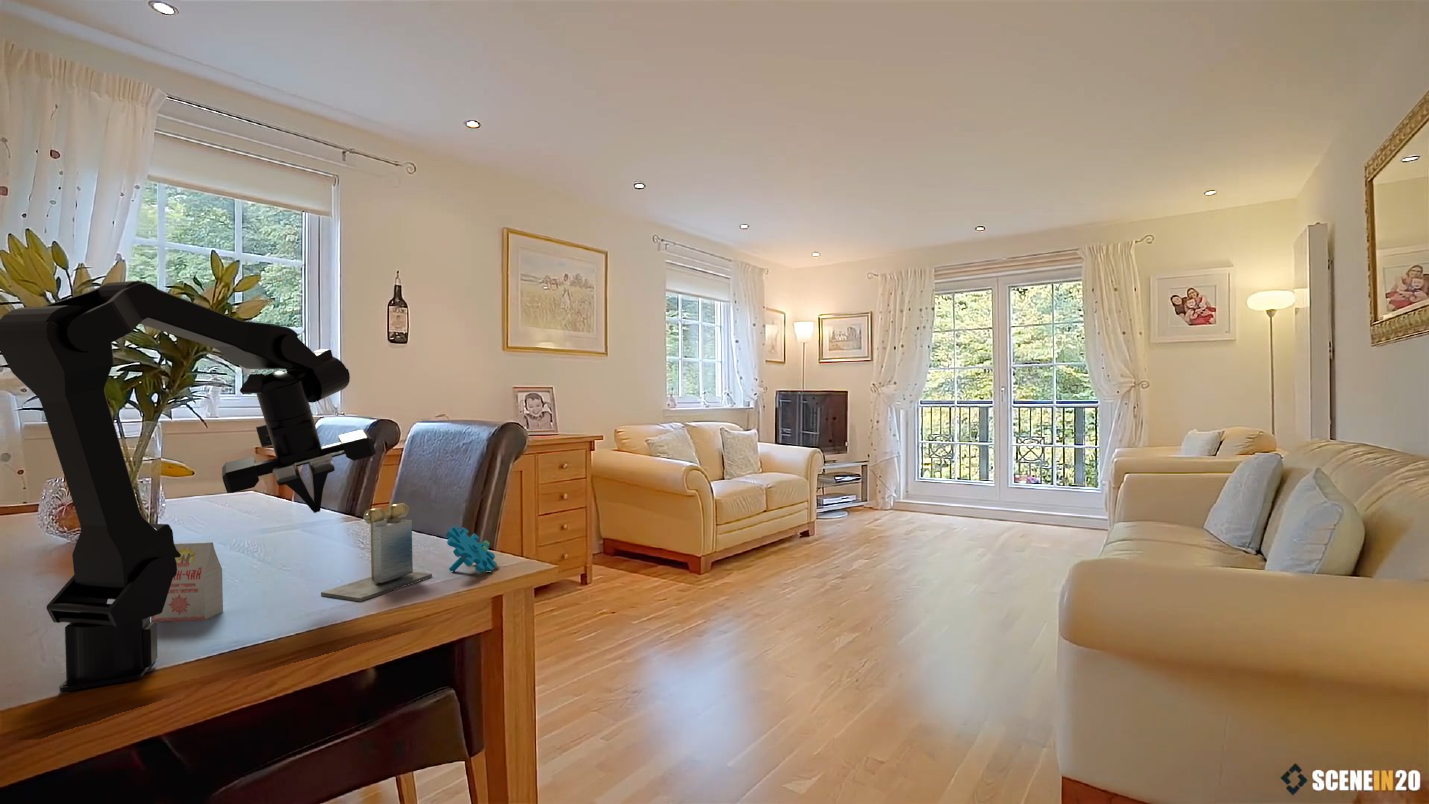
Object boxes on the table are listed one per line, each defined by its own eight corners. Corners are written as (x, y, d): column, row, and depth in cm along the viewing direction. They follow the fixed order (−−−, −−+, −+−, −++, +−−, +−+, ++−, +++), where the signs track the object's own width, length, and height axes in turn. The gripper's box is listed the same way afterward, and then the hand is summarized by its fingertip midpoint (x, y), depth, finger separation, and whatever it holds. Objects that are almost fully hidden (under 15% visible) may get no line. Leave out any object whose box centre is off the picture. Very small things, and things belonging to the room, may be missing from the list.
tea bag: (171, 612, 92) (169, 540, 92) (223, 610, 93) (221, 539, 93) (151, 621, 89) (149, 546, 88) (204, 620, 89) (203, 545, 89)
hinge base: (360, 601, 96) (358, 519, 96) (321, 595, 99) (319, 515, 99) (432, 576, 109) (430, 503, 108) (395, 572, 112) (394, 501, 111)
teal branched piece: (480, 571, 106) (441, 525, 108) (454, 597, 106) (415, 551, 108) (511, 562, 117) (475, 521, 118) (487, 586, 117) (451, 544, 119)
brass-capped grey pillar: (378, 584, 102) (377, 511, 102) (361, 581, 103) (360, 510, 103) (412, 572, 108) (411, 504, 108) (396, 570, 110) (395, 503, 109)
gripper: (351, 386, 106) (374, 475, 111) (208, 416, 96) (241, 512, 101) (363, 403, 97) (387, 498, 102) (207, 438, 87) (243, 541, 93)
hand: (316, 511), depth 100 cm, fingers closed
